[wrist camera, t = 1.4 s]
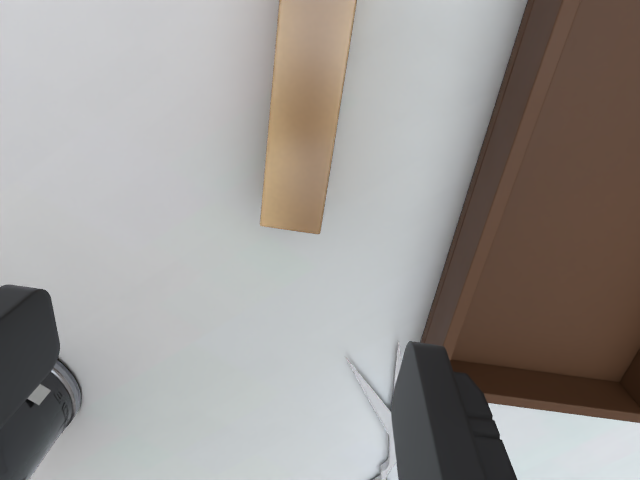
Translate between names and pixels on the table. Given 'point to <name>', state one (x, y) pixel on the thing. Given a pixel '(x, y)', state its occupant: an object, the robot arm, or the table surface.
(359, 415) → the table surface
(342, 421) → the table surface
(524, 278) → the tray
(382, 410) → the scissors
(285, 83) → the tan and orange bar
